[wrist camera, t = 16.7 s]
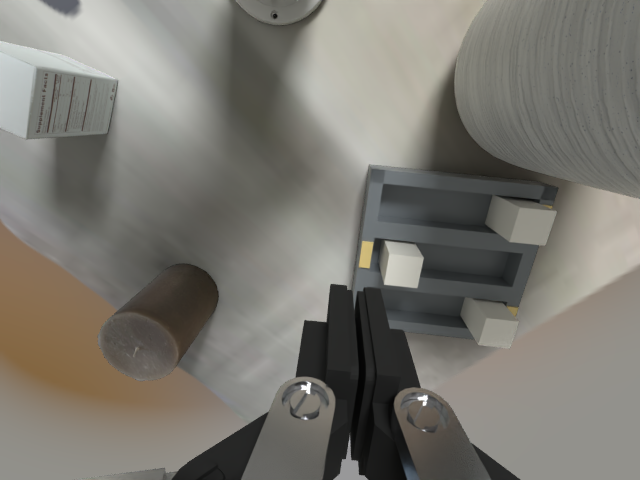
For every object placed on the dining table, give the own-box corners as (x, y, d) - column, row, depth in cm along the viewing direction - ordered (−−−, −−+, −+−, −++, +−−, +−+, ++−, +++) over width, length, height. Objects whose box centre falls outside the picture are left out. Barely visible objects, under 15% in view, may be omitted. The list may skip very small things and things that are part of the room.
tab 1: (460, 315, 49) (478, 345, 43) (466, 290, 48) (486, 318, 41) (487, 318, 49) (510, 348, 43) (494, 293, 48) (519, 321, 41)
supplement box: (54, 111, 44) (-51, 109, 32) (63, 53, 42) (-47, 27, 30) (109, 136, 45) (25, 142, 33) (120, 79, 42) (35, 64, 31)
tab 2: (484, 223, 45) (509, 241, 38) (492, 194, 43) (519, 207, 37) (515, 227, 44) (545, 245, 38) (524, 197, 43) (557, 211, 36)
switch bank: (349, 310, 52) (349, 326, 48) (369, 164, 44) (371, 169, 40) (494, 326, 51) (507, 344, 47) (539, 181, 43) (559, 188, 39)
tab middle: (378, 261, 47) (384, 284, 41) (382, 234, 46) (389, 254, 39) (406, 264, 47) (417, 288, 41) (412, 237, 46) (423, 257, 39)
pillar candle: (216, 265, 50) (168, 321, 36) (220, 321, 54) (177, 393, 40) (153, 261, 51) (80, 316, 37) (161, 317, 54) (97, 387, 40)
